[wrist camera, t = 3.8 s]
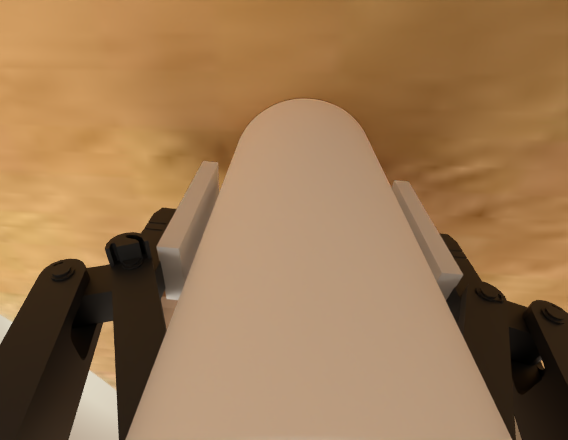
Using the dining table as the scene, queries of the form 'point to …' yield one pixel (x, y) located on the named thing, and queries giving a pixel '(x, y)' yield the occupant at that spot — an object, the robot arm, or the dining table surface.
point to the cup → (312, 305)
